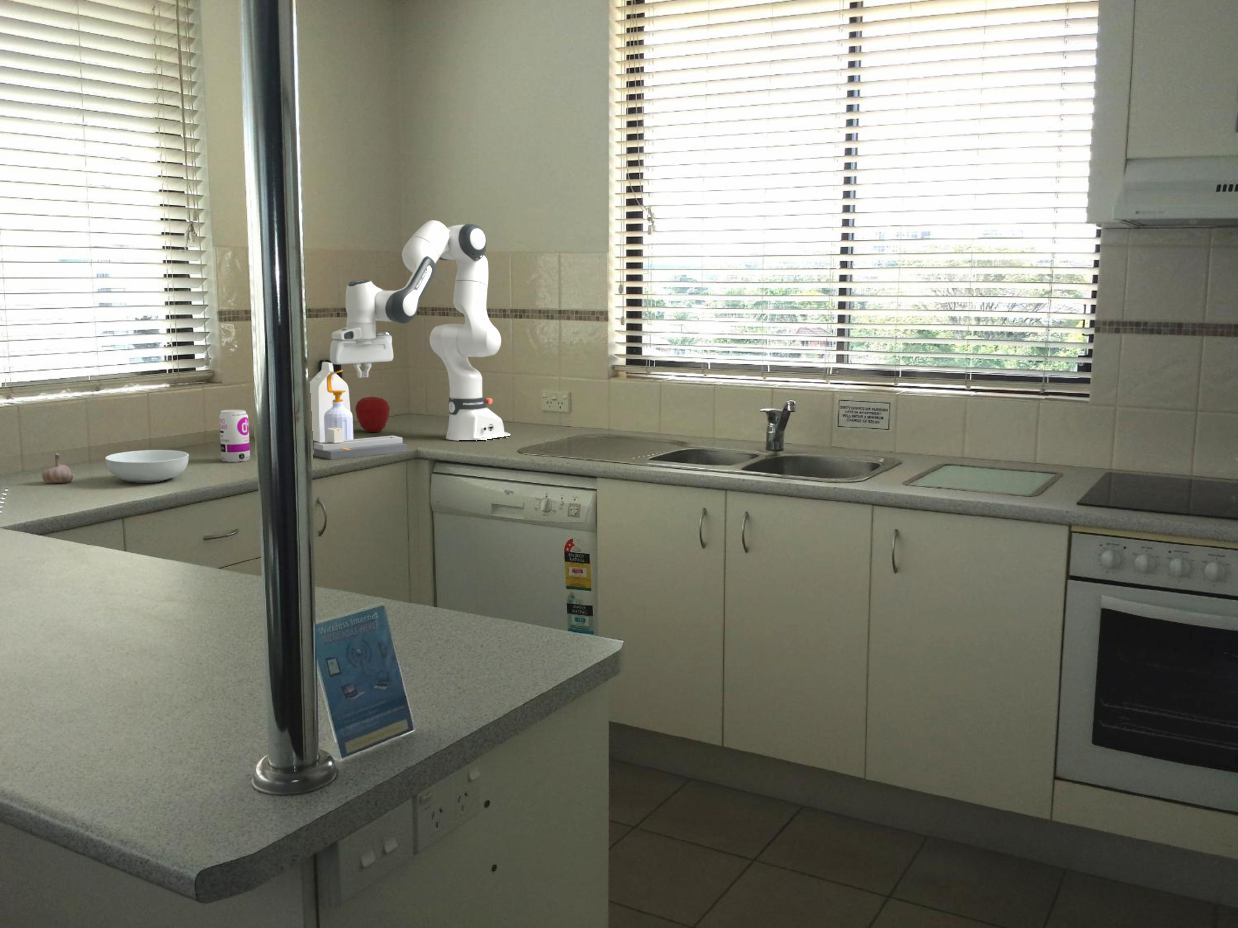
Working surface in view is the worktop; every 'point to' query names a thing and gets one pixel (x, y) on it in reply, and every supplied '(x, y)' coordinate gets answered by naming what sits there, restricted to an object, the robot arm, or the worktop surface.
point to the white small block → (334, 435)
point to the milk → (325, 398)
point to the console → (360, 447)
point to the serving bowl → (147, 465)
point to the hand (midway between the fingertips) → (363, 377)
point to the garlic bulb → (57, 473)
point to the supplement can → (234, 435)
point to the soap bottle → (338, 414)
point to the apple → (372, 413)
